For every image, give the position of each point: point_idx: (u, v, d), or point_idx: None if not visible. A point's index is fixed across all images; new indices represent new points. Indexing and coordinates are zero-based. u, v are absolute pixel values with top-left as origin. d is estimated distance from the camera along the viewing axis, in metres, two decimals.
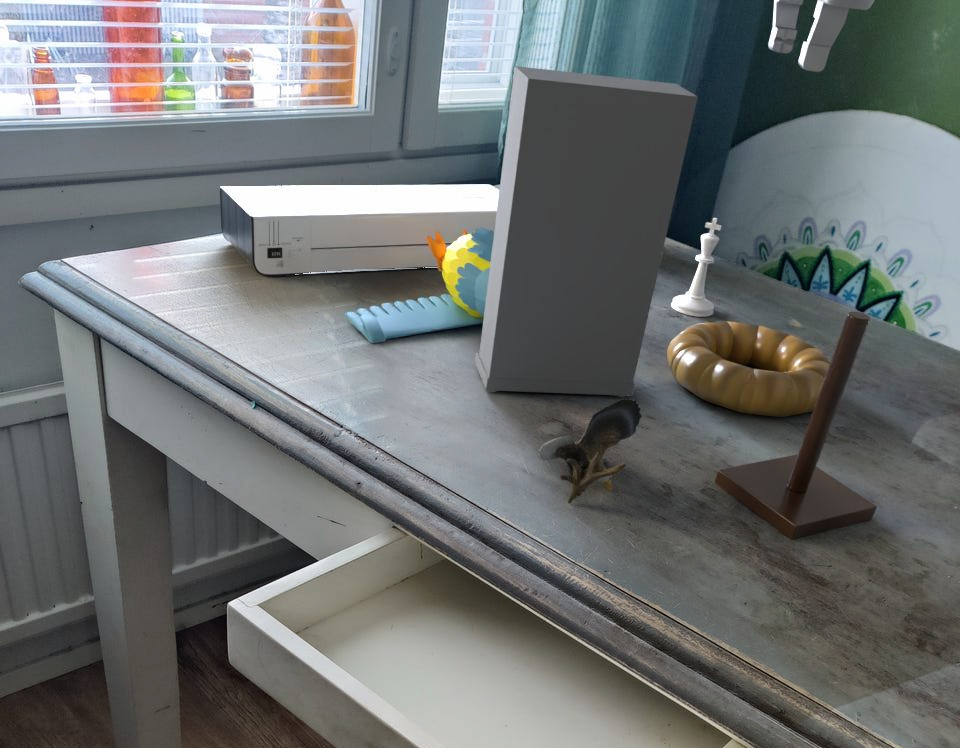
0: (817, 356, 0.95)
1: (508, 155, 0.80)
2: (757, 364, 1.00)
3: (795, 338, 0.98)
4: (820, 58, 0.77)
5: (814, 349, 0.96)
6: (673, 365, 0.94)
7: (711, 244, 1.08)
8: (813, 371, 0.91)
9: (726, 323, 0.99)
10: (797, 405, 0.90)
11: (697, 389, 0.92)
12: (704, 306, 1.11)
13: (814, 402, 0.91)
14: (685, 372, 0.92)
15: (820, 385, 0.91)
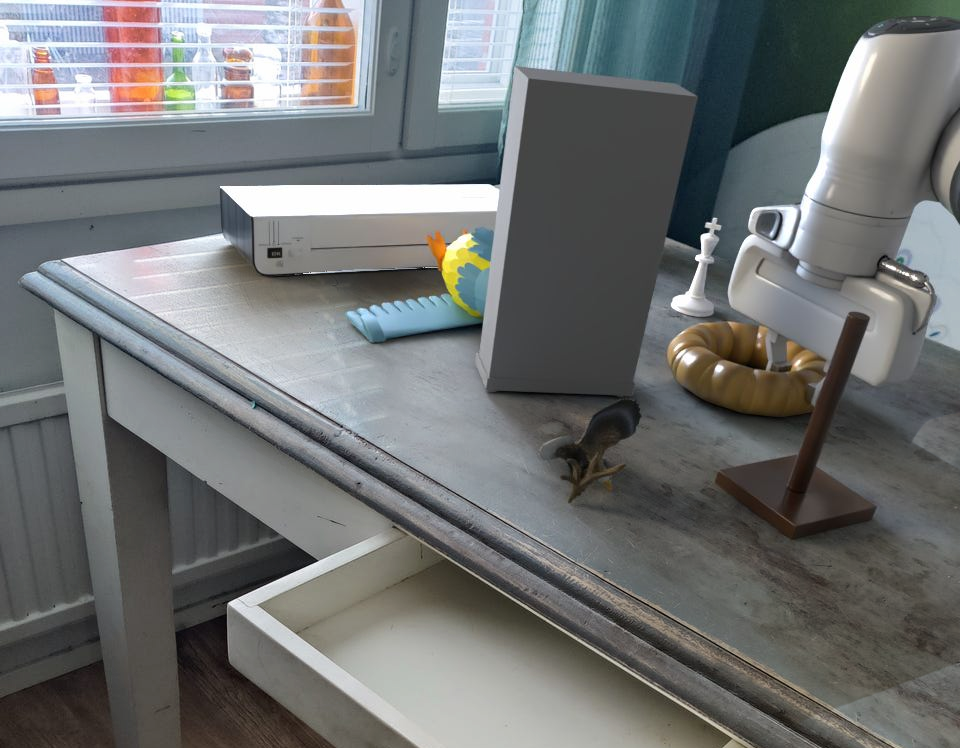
0: (817, 356, 0.95)
1: (508, 155, 0.80)
2: (757, 364, 1.00)
3: None
4: None
5: None
6: (673, 365, 0.94)
7: (711, 244, 1.08)
8: (813, 371, 0.91)
9: (726, 323, 0.99)
10: (797, 405, 0.90)
11: (698, 390, 0.92)
12: (704, 306, 1.11)
13: None
14: (685, 372, 0.92)
15: None
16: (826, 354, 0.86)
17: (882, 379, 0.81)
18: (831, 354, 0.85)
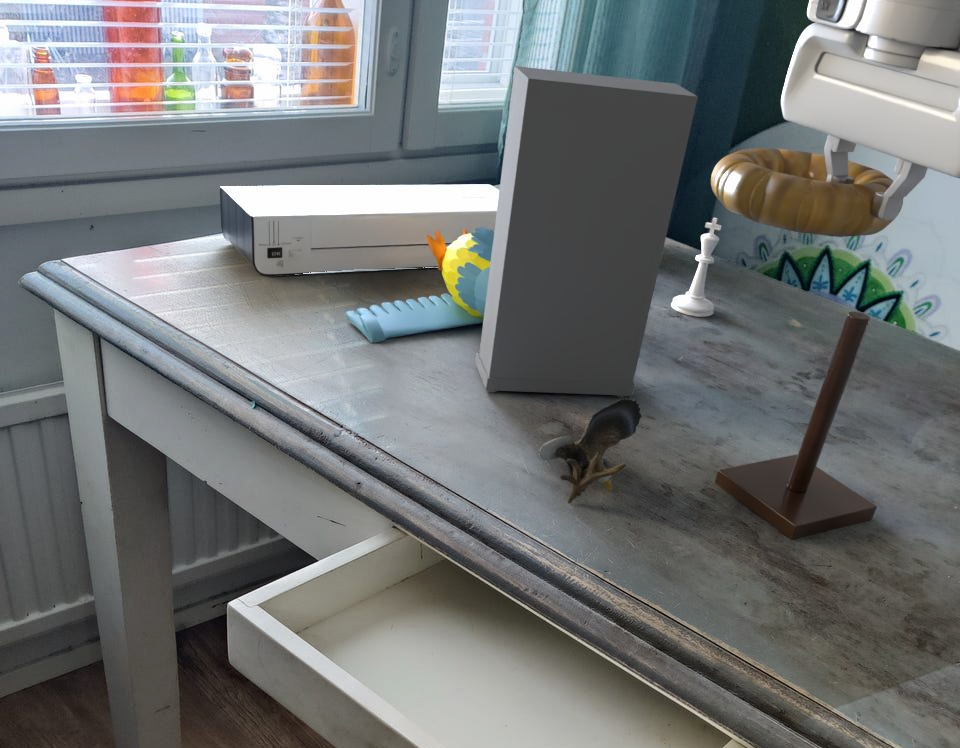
0: (880, 175, 0.85)
1: (508, 155, 0.80)
2: None
3: (853, 162, 0.88)
4: (895, 208, 0.79)
5: (876, 170, 0.86)
6: (720, 185, 0.84)
7: (711, 244, 1.08)
8: (879, 184, 0.81)
9: (775, 149, 0.89)
10: (862, 219, 0.80)
11: (749, 207, 0.82)
12: (704, 306, 1.11)
13: None
14: (734, 190, 0.82)
15: None
16: (898, 150, 0.76)
17: None
18: (904, 148, 0.75)
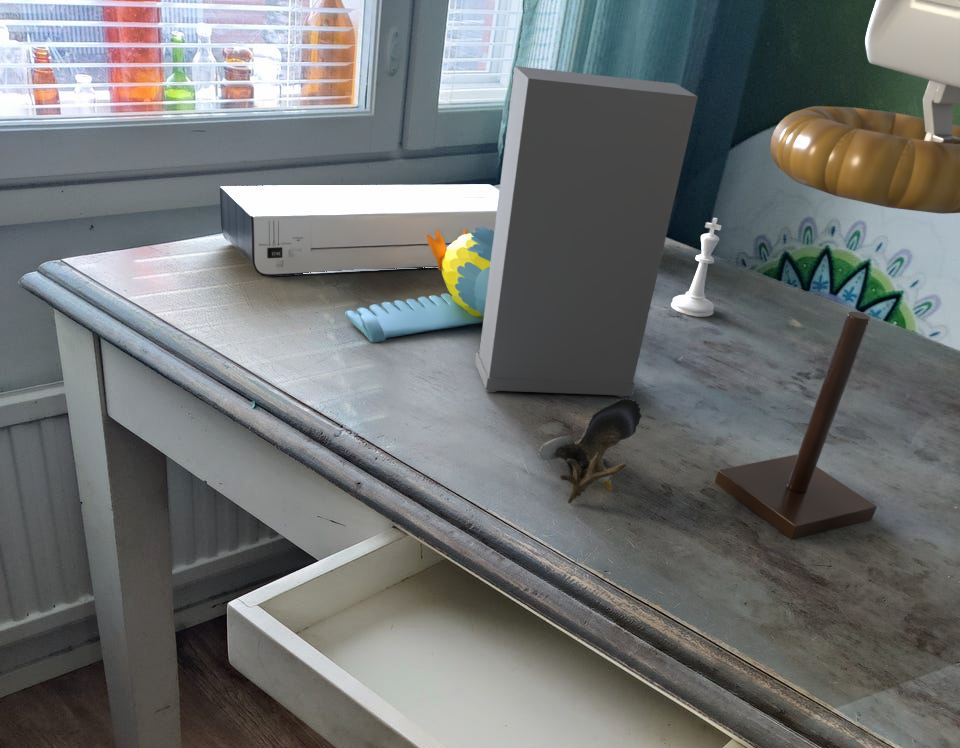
0: None
1: (508, 155, 0.80)
2: None
3: None
4: None
5: None
6: (785, 149, 0.65)
7: (711, 244, 1.08)
8: None
9: (850, 108, 0.71)
10: None
11: (825, 175, 0.63)
12: (704, 306, 1.11)
13: None
14: (805, 153, 0.64)
15: None
16: None
17: None
18: None
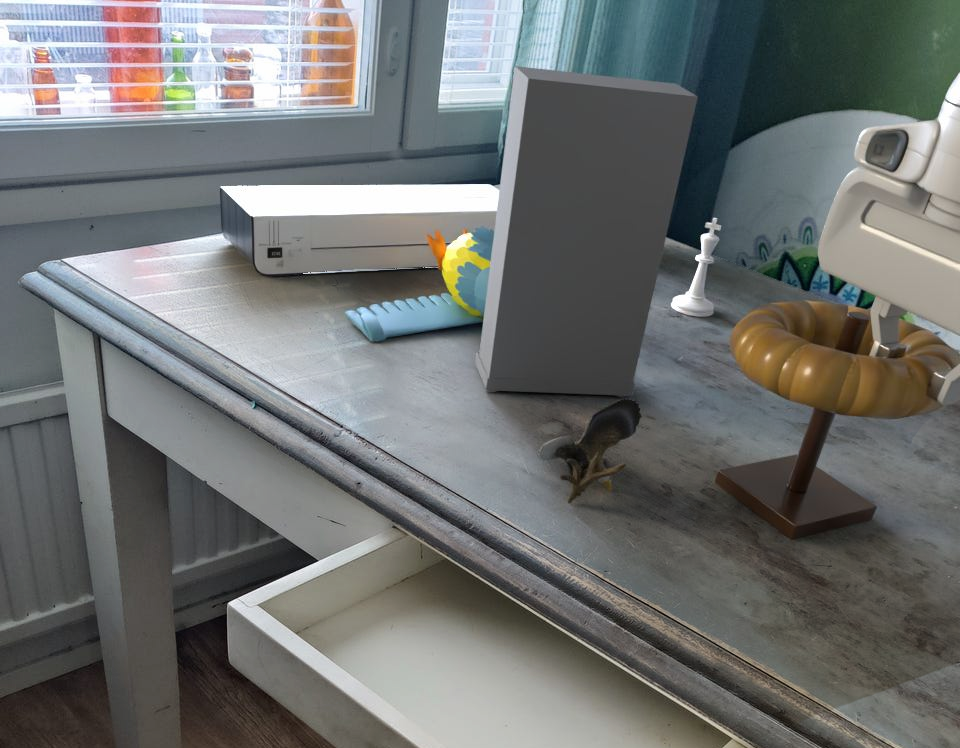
0: (934, 339, 0.71)
1: (508, 155, 0.80)
2: None
3: (899, 319, 0.74)
4: (958, 391, 0.65)
5: (927, 331, 0.72)
6: (742, 355, 0.70)
7: (711, 244, 1.08)
8: (935, 357, 0.67)
9: (805, 302, 0.75)
10: (917, 402, 0.66)
11: (778, 385, 0.67)
12: (704, 306, 1.11)
13: None
14: (760, 362, 0.68)
15: None
16: None
17: None
18: None
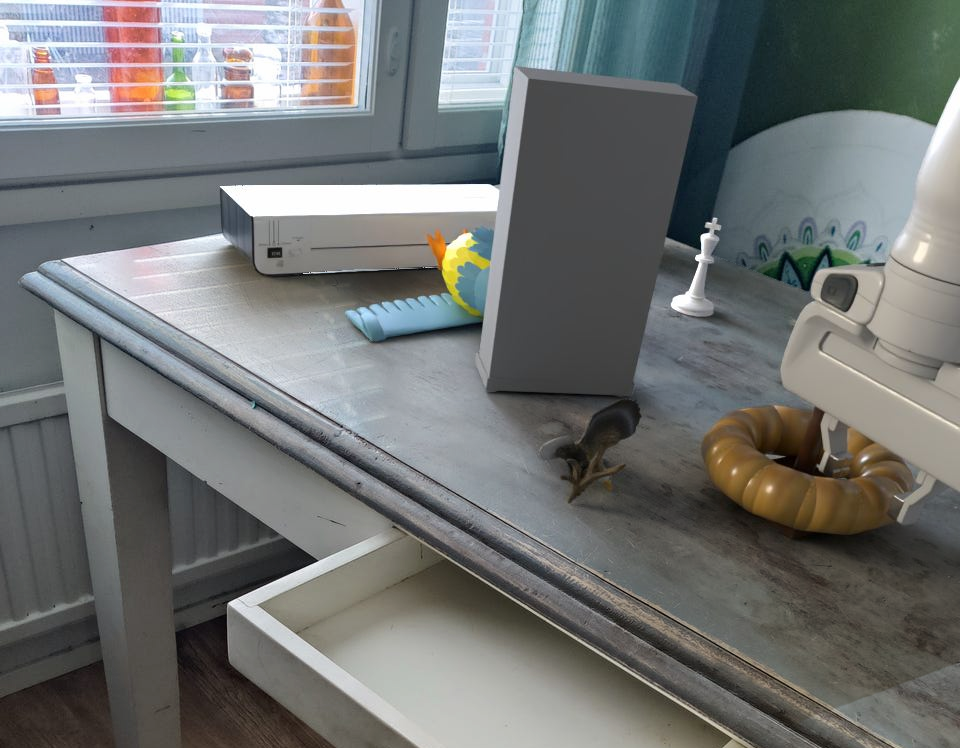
0: (889, 454, 0.76)
1: (508, 155, 0.80)
2: None
3: None
4: (916, 512, 0.70)
5: None
6: (710, 467, 0.75)
7: (711, 244, 1.08)
8: (887, 478, 0.73)
9: (773, 408, 0.80)
10: (868, 522, 0.72)
11: (742, 500, 0.73)
12: (704, 306, 1.11)
13: (889, 517, 0.73)
14: (726, 478, 0.74)
15: None
16: (913, 458, 0.67)
17: None
18: (920, 459, 0.66)
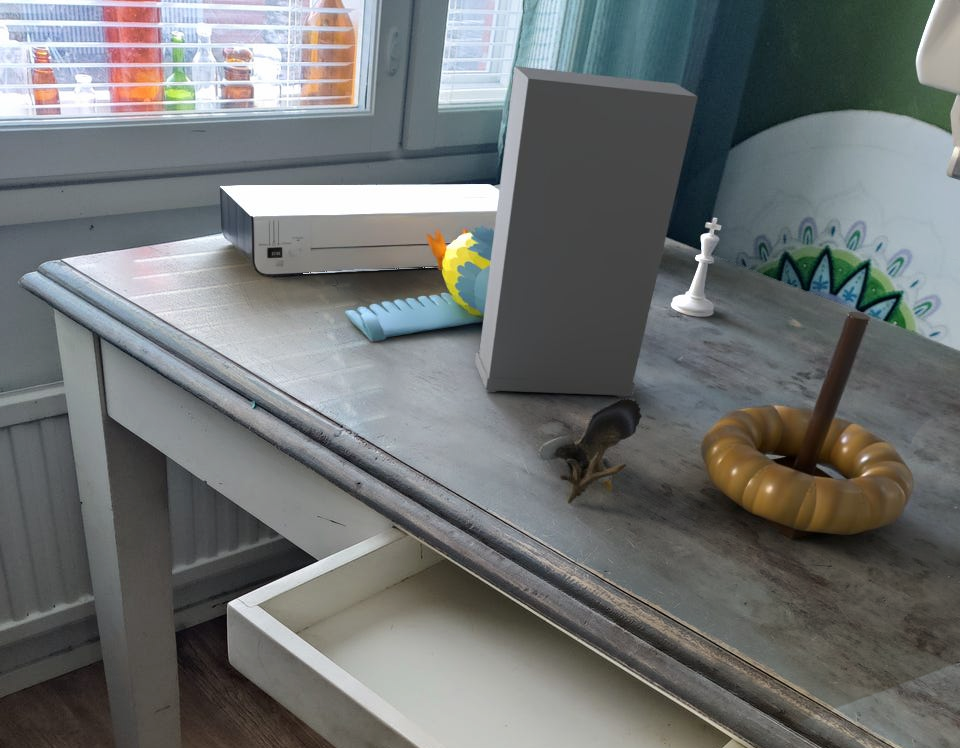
0: (889, 454, 0.76)
1: (508, 155, 0.80)
2: None
3: (859, 428, 0.79)
4: None
5: (884, 444, 0.77)
6: (710, 467, 0.75)
7: (711, 244, 1.08)
8: (887, 478, 0.73)
9: (773, 408, 0.80)
10: (868, 522, 0.72)
11: (742, 500, 0.73)
12: (704, 306, 1.11)
13: (889, 517, 0.73)
14: (726, 478, 0.74)
15: (897, 496, 0.72)
16: None
17: None
18: None
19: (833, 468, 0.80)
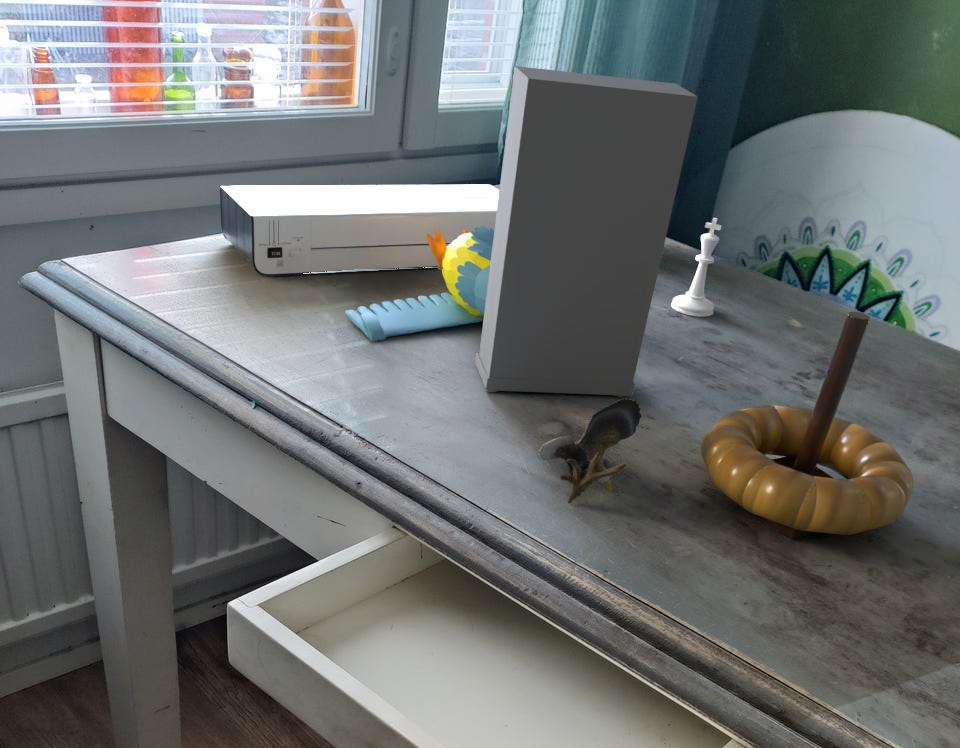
0: (889, 454, 0.76)
1: (508, 155, 0.80)
2: None
3: (859, 428, 0.79)
4: None
5: (884, 444, 0.77)
6: (710, 467, 0.75)
7: (711, 244, 1.08)
8: (887, 478, 0.73)
9: (773, 408, 0.80)
10: (868, 522, 0.72)
11: (742, 500, 0.73)
12: (704, 306, 1.11)
13: (889, 517, 0.73)
14: (726, 478, 0.74)
15: (897, 496, 0.72)
16: None
17: None
18: None
19: (833, 468, 0.80)
